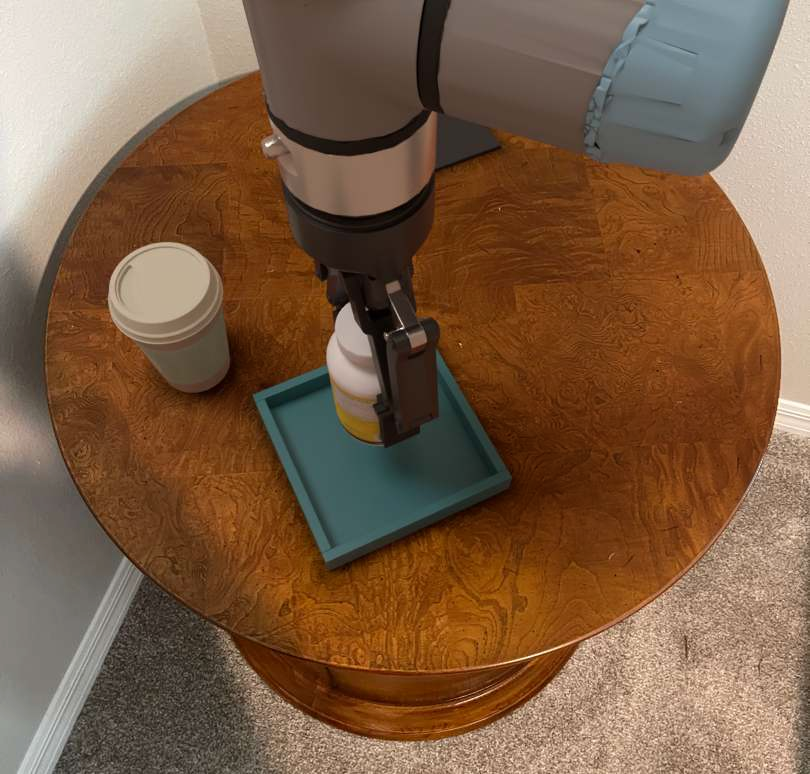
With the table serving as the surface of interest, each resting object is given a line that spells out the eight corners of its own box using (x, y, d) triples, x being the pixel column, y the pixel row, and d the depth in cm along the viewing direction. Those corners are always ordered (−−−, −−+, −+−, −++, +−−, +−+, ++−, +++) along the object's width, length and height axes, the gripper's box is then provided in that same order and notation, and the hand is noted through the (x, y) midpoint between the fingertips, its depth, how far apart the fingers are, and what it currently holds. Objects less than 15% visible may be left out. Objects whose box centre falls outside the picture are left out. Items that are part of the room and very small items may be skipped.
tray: (509, 488, 66) (512, 477, 64) (328, 571, 62) (325, 562, 60) (422, 339, 72) (423, 325, 71) (256, 407, 69) (252, 394, 67)
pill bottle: (392, 359, 64) (386, 266, 54) (441, 420, 61) (444, 334, 51) (320, 401, 62) (301, 313, 52) (367, 466, 59) (356, 386, 49)
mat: (500, 147, 84) (501, 145, 83) (411, 180, 82) (411, 177, 81) (455, 86, 88) (455, 83, 88) (370, 115, 86) (370, 112, 86)
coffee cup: (166, 315, 74) (126, 228, 63) (258, 331, 73) (232, 245, 62) (132, 397, 70) (82, 318, 59) (228, 415, 69) (196, 338, 58)
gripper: (217, 66, 43) (282, 315, 63) (369, 348, 34) (388, 533, 55) (348, 24, 45) (371, 280, 65) (526, 284, 36) (488, 487, 56)
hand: (379, 396), depth 60 cm, fingers closed on pill bottle, 6 cm apart
